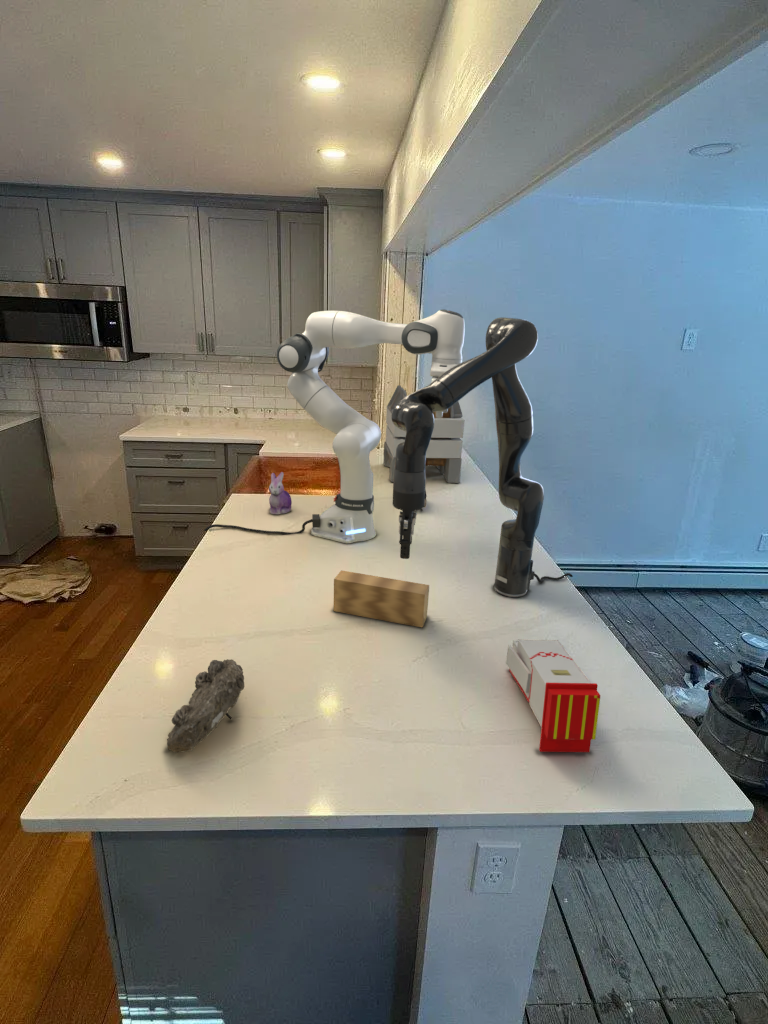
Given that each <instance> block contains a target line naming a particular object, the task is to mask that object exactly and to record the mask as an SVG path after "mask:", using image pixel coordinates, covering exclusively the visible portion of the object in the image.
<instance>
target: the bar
mask: <svg viewBox="0 0 768 1024" xmlns="http://www.w3.org/2000/svg"><path fill="white" fill-rule="evenodd" d="M429 597H430V584H425V583H419V582H414V581H408V580H402V579H396V578H390V577H384V576H378V575H372V574H365V573H359V572H353V571H347V570H343V569H342V570H340V571H339V572H338V574H336V576H335V577H334V578H333V612H336V613H341V614H348V615H353V616H357V617H358V616H359V617H363V618H368V619H374V620H379V621H384V622H390V623H395V624H401V625H406V626H410V627H411V626H412V627H417V628H424V625H425V623H426V621H427V618H428V607H429Z"/></svg>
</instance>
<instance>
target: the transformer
mask: <svg viewBox="0 0 768 1024" xmlns="http://www.w3.org/2000/svg"><path fill="white" fill-rule="evenodd" d="M407 394H408V393H407V390H406V389H404V388H403V387H402V385H399V384H398V385H397V386H396V388H395V390H394V392H393V394H392V395H391V398H390V400H389V402H388V404H387V405H386V413H385V414H386V415H385V423H386V428H385V438H384V442H383V466H384V467H388V468H389V475H388V476H389V477H388V478H389V480H390V482H391V483H393V478H394V472H395V455H396V448H397V446H398V445H399V444H400V443H403V442H404V441H405V437H406V431H403V430H400V429H398V428H397V427H396V426H395V425H394V424H393V422H392V418H391V415H392V411H393V408H394V407H395V405H396V404H397V403H398V402H399V401H400V400H401V399H403V398H404V397H406V396H408V395H407ZM433 415H434V429H433V433H432V436H431V439H430V443H429V446H428V448H427V451H426V465H425V467H436V468H437V470H438V469H439V473H440V474H441V475H443V478H444V479H445V481H446V482H447V483H449V484H455V483H456V484H459V483H461V472H462V461H463V460H462V453H463V442H464V441H463V440H462V439H463V438H464V431H465V430H464V429H465V419H464V418H463V411H462V408H461V405H460V402H459V401H458V402H456V403H455V404H454V405H453V406H451V407H450V408H449V409H448V412H447V413H443V416H442V417H441V418H437V417H436V412H433Z"/></svg>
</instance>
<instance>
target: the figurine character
mask: <svg viewBox="0 0 768 1024" xmlns="http://www.w3.org/2000/svg"><path fill="white" fill-rule="evenodd" d="M427 497H428V495H427V491H426V489H425V501H424V507H423V508H422V509H420V510H419V511H420V512H423V509H424V508H426V507H427Z"/></svg>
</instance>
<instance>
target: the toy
mask: <svg viewBox="0 0 768 1024" xmlns="http://www.w3.org/2000/svg"><path fill="white" fill-rule="evenodd" d="M505 659H506V660H505V665H506V666H507V667H508V671H509V673H510V674H511V676H512V678H513V679H514V681H515V682H516V685H517V686H518V688H519V690H520V691H521V692H522V694H523V697H525V699H526V701H527V703H529V707H530V709H531V711H532V712H533V714H534V716H535V718H536V720H537V722H538V724H539V726H540V728H541V729H540V739H539V748H538V751H539V752H540V753H543V752H544V753H590V752H591V744H592V743H591V742H592V740H596V736H597V727H598V720H599V719H598V718H599V710H600V704H601V703H600V702H601V696H602V695H601V694H600V693H599V692H598V687H599V686H598V683H595V682H594V683H592V682H591V681H590V679H589V678H588V677H587V676H586V674H585V673H584V671H583V670H582V669H581V668H580V666H579V665H578V664H577V663H576V662H575V661H576V660H574V659H573V658H572V656H571V655H570V653H568V651H567V650H566V648H565V647H564V645H563V644H562V643H561V642H560V641H559V639H529V638H528V639H524V638H521V639H517V640H512V645H511V644H510V645H509V644H508V646H507V653H506V658H505Z"/></svg>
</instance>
